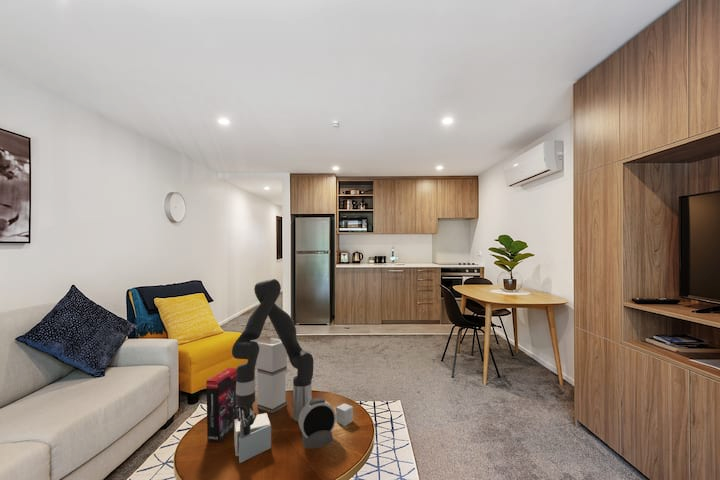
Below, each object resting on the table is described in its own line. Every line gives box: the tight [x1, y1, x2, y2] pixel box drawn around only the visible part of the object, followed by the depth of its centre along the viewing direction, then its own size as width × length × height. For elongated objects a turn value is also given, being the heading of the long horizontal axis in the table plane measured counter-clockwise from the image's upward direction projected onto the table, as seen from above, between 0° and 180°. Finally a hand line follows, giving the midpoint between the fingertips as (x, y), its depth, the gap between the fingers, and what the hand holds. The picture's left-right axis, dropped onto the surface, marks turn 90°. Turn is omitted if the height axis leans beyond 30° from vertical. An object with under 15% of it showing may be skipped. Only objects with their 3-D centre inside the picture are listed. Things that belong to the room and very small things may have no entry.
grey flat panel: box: [238, 422, 272, 464], centre depth 137 cm, size 14×1×15 cm, turn 136°
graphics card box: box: [205, 367, 238, 443], centre depth 155 cm, size 17×7×27 cm, turn 168°
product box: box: [335, 403, 354, 427], centre depth 163 cm, size 6×6×7 cm
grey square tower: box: [256, 337, 288, 414], centre depth 180 cm, size 11×11×35 cm
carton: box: [233, 412, 271, 457], centre depth 144 cm, size 14×11×10 cm
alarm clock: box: [297, 397, 337, 450], centre depth 147 cm, size 16×10×18 cm, turn 115°
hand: (245, 433), depth 134 cm, fingers closed
